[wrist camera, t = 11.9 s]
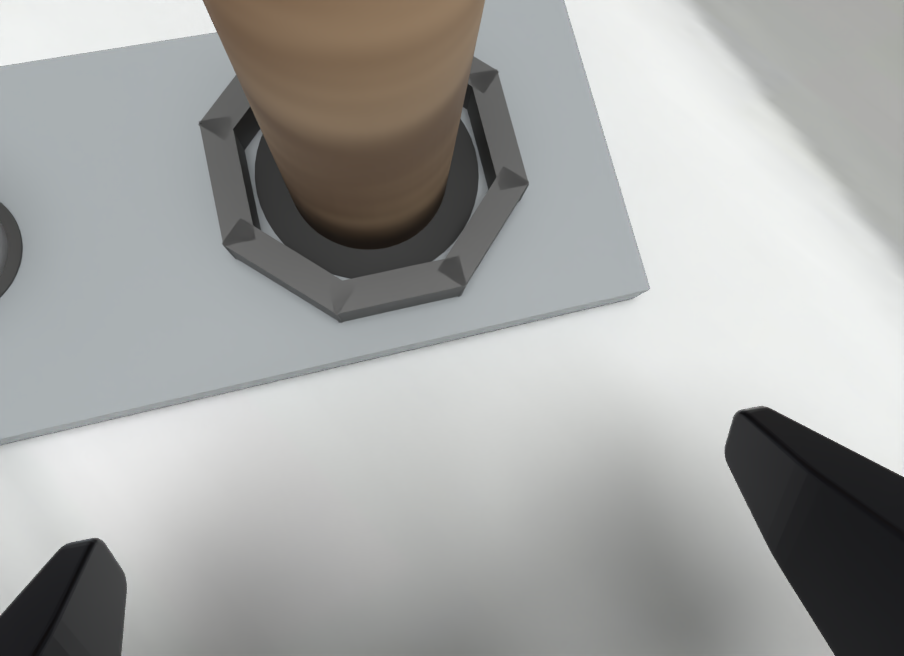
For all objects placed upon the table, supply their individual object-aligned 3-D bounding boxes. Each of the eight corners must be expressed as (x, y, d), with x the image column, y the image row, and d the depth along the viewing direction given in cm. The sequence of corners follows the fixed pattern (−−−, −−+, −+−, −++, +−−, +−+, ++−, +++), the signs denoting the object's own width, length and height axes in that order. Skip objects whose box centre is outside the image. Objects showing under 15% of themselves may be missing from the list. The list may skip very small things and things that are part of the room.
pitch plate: (634, 298, 18) (863, 169, 9) (-78, 462, 16) (-704, 506, 7) (547, 5, 20) (675, -352, 11) (-119, 113, 17) (-684, -235, 8)
